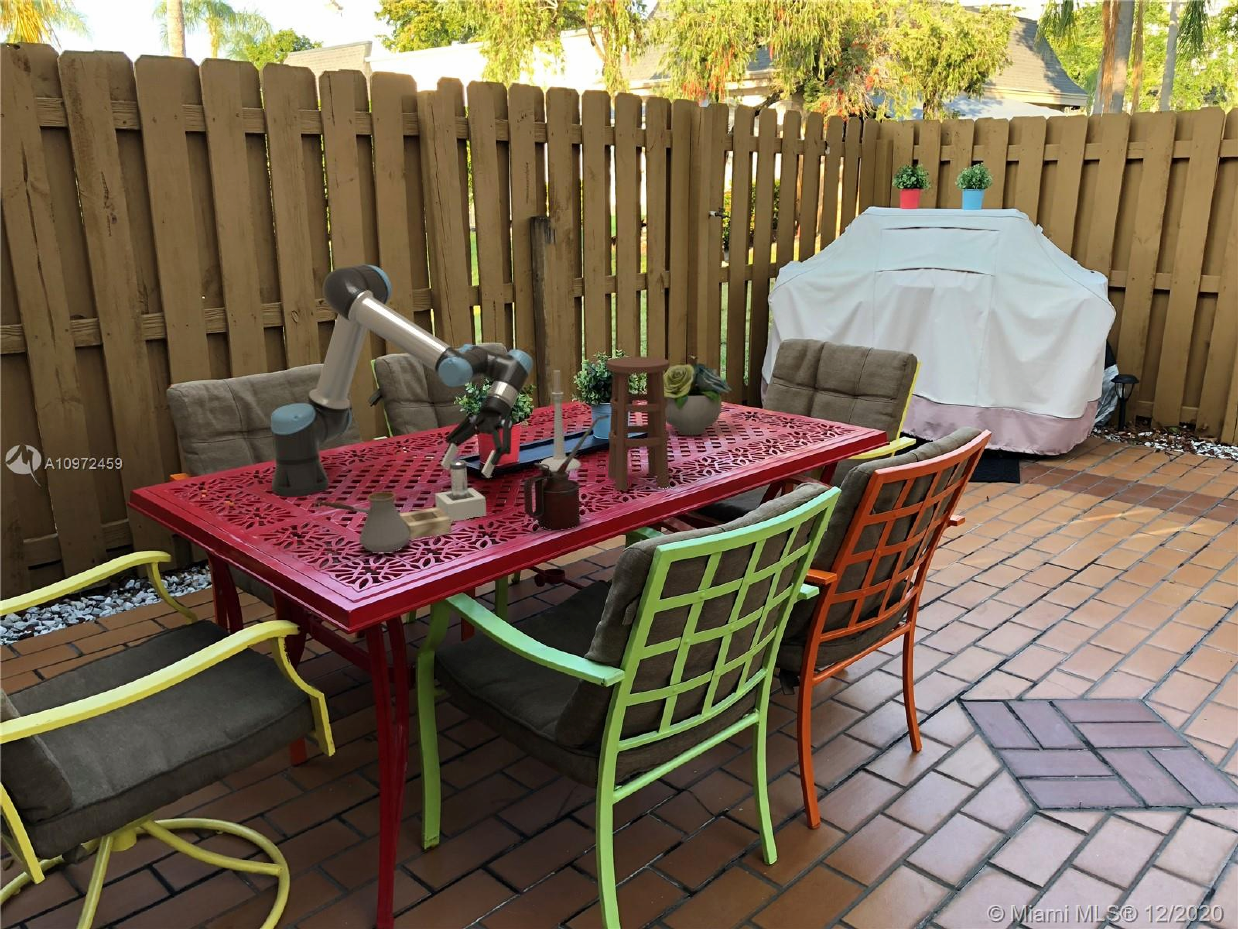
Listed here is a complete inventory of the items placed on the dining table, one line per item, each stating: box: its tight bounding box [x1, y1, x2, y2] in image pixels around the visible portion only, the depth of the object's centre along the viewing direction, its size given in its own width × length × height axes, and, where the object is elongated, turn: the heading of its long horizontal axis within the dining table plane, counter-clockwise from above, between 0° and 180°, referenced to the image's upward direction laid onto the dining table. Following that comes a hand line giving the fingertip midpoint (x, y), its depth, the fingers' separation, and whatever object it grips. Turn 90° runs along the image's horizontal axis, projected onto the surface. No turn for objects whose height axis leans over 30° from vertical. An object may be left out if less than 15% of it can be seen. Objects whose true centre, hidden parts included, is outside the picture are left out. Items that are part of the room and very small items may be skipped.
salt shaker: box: [449, 459, 468, 501], centre depth 226 cm, size 4×4×14 cm
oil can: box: [523, 414, 611, 531], centre depth 220 cm, size 28×11×25 cm, turn 136°
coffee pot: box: [313, 491, 410, 552], centre depth 200 cm, size 21×12×15 cm, turn 131°
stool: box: [605, 356, 670, 491], centre depth 247 cm, size 20×35×20 cm
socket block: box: [399, 506, 452, 541], centre depth 215 cm, size 10×10×4 cm
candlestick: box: [538, 369, 582, 473], centre depth 265 cm, size 13×13×30 cm
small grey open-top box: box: [434, 487, 487, 522], centre depth 227 cm, size 10×10×5 cm
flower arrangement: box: [663, 362, 733, 436], centre depth 304 cm, size 25×25×24 cm
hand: (464, 471), depth 226 cm, fingers open, 13 cm apart
